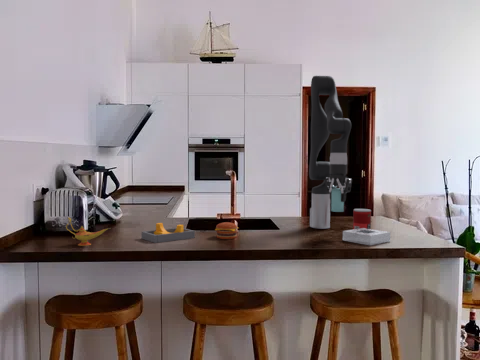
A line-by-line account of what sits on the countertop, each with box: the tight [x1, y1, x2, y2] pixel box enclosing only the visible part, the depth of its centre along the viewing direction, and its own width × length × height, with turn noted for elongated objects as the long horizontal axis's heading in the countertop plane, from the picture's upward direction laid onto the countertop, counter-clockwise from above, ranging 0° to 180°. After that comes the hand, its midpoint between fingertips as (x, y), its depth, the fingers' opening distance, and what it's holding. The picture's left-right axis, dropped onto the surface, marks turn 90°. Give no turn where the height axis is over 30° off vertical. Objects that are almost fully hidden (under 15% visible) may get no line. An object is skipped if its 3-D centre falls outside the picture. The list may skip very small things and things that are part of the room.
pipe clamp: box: [154, 222, 185, 235], centre depth 195 cm, size 12×4×6 cm, turn 71°
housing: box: [342, 228, 391, 246], centre depth 192 cm, size 14×14×4 cm
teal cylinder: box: [330, 187, 345, 213], centre depth 201 cm, size 5×5×10 cm
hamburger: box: [214, 221, 239, 240], centre depth 199 cm, size 9×10×7 cm
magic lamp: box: [65, 216, 111, 247], centre depth 180 cm, size 7×18×11 cm, turn 88°
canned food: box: [352, 208, 372, 230], centre depth 213 cm, size 8×8×11 cm
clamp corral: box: [141, 227, 196, 244], centre depth 196 cm, size 12×19×3 cm, turn 129°
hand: (337, 201), depth 201 cm, fingers closed on teal cylinder, 5 cm apart
